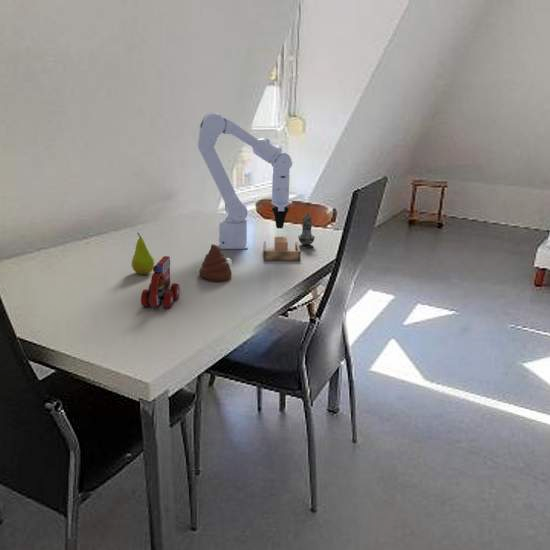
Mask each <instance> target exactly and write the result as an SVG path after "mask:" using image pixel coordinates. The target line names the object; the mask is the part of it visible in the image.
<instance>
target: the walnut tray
mask: <svg viewBox="0 0 550 550" xmlns="http://www.w3.org/2000/svg"><path fill="white" fill-rule="evenodd" d="M266 242H267V241H266V240H265V241H263V261H288V262H291V261H293V262H295V261H297V262H298V261H299V262H301V255H302V254H301V248H299V243H298V242H299V241H295V245H294V246H295V247H294V248H288V251H275V249H274V248H267V243H266Z"/></svg>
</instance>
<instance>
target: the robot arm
mask: <svg viewBox="0 0 550 550" xmlns="http://www.w3.org/2000/svg"><path fill="white" fill-rule="evenodd" d="M198 131H199V132H198V142H197V148H198V150H199V152H200V154H201V156H202V158H203V160H204V163H205V164H206V167H207V169H208V170H209V173H210V174H211V177H212V179H213V181H214V182H215V185H216V188H218V189H217V190H218V191H219V193H220V196H221V197H222V200H223V202H224V210H225V213H226V214H227V215H226V217H225V220H219V229H218V230H219V232H218V233H219V234H218V235H219V236H218V243H219V246H218V248H219V249H222V250H223V249H225V250H227V249H229V250H231V249H232V250H233V249H237V250H239V249H241V250H248V248H249V242H248V237H247V236H248V232H247V231H248V229H247V228H248V227H247V226H248V219H247V217H248V212H249V211H248V209H247V206H246V205H244V204H243V202H242V201H241V200H240V199H239V197H238V194H237V193H236V191H235V188H234V187H233V185H232V183H231V181H230V178H229V176H228V175H227V173H226V170H225V168H224V166H223V164H222V161H221V159H220V157H219V154H218V153H217V151H216V149H215V145H216V144H217V143H216V142H218V141H217V140H218V138H219V137H220V135H221V134H223V135H224V134H225V135H232V136H234V137H235V138H237V139H238V140H240V141H241V142H243V143H244V144H247V145H248V146H249V147H251V148H252V152H253V154H254V155H256V156H257V157H258V158H259V159H262V160H264V162H266V163H268V164H271V167H272V183H271V184H272V188H271V189H272V190H271V202H270V203H271V205H273V206H272V207H271V211H272V213H273V214H274V220H275V227H276V229H283V228H284V225H285V219H286V216H287V214H288V213H289V205H293V201H292V200H291V201H290V169H291V167H292V166H293V161H292V158H291V156H290V155H289V154H288V153H286V152H284V151H282V149H283V148H281V147H277V146H276V145H275V144H273V143H271V140H270V139H268V138H263V137H262V138H261V137H260V138H257V137H255V136H254V135H252V134H251V133H250V132H248V131H247V130H246V129H244V128H243V127H241V126H240V125H239V124H237V123H236V122H234V121H232V120H230V119H229V118H226V117H223V116H222V115H221V114H219V113H215V112H213V113H212V112H211V113H210V112H209V113H206V114H205V115H204V116H203V117H202V120H201V122H200V124H199V130H198Z"/></svg>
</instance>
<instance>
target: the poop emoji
mask: <svg viewBox="0 0 550 550" xmlns="http://www.w3.org/2000/svg"><path fill="white" fill-rule="evenodd" d="M232 265H233V260H232V259H231V258H229V257H225V255H224V254H223V253H222V252H221V250H220V248H219V246H218V245H216V244H211V246H210V249H209V251H208V253H207V254H206V255H205V257H204V260H203V261H202V264H201V267H200V268H199V271H198V274H199V276H200V278H203V279H206V280H207V281H210V282H213V283H221V282H226V281H229V280H230V279H231V278H232V276H233V275H232V269H231V266H232Z"/></svg>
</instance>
